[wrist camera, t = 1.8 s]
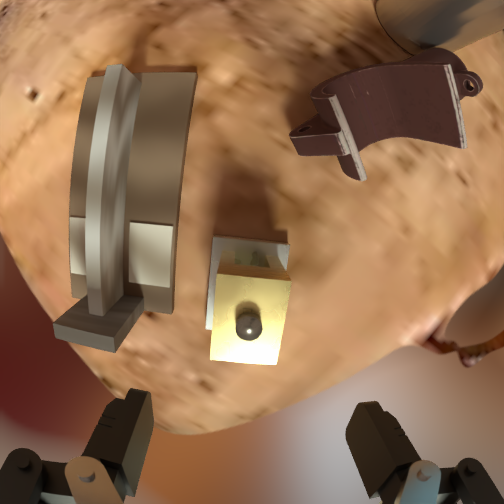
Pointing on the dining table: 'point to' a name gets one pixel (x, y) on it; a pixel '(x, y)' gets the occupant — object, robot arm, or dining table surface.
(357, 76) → the bracket
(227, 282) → the block with knob
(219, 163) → the dining table surface
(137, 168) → the rail
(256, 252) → the gray metal plate
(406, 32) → the robot arm
